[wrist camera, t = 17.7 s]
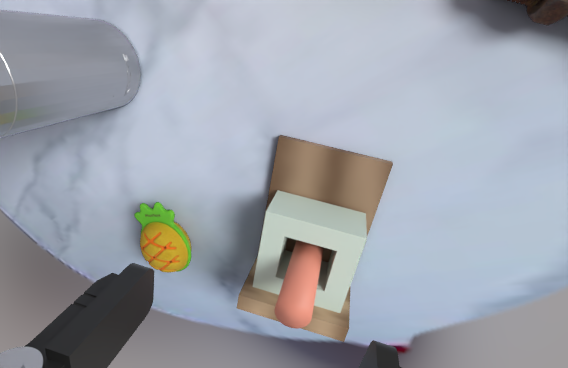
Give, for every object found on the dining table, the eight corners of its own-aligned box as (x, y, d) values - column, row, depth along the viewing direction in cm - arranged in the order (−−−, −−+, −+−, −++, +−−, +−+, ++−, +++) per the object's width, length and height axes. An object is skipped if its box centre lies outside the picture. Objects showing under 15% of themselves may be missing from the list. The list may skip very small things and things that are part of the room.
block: (264, 259, 40) (252, 286, 35) (277, 190, 36) (266, 211, 31) (342, 282, 39) (340, 313, 34) (365, 213, 34) (366, 238, 30)
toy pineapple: (164, 259, 45) (141, 284, 40) (139, 196, 42) (110, 215, 37) (207, 257, 43) (188, 283, 39) (184, 191, 40) (161, 211, 35)
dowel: (296, 244, 38) (271, 321, 28) (301, 222, 37) (277, 294, 26) (321, 251, 38) (307, 332, 27) (328, 229, 37) (315, 305, 26)
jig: (257, 264, 42) (236, 308, 35) (280, 134, 34) (260, 158, 27) (346, 290, 40) (343, 341, 34) (391, 161, 33) (401, 193, 26)
